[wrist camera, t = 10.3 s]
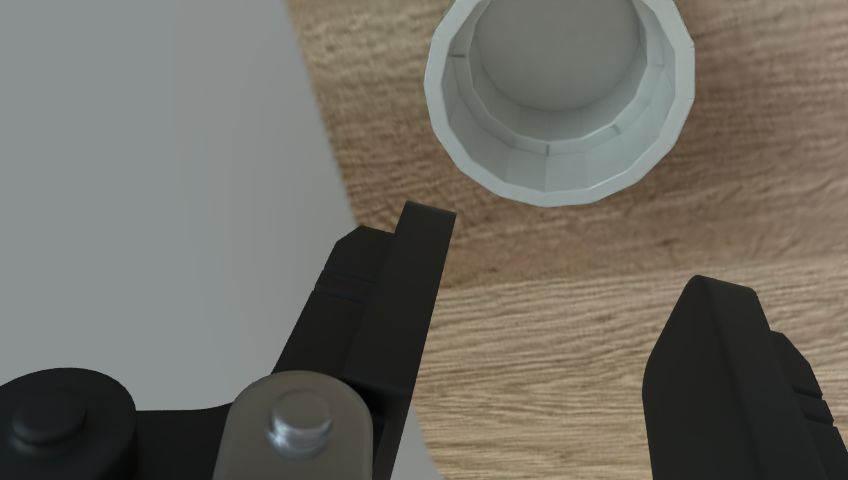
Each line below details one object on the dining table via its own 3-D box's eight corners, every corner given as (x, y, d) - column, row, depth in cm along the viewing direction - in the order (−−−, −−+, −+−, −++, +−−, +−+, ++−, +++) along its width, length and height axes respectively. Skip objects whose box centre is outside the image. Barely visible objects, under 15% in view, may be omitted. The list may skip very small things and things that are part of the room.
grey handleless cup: (432, 102, 23) (404, 172, 19) (478, -109, 19) (455, -80, 15) (623, 150, 23) (637, 232, 18) (704, -55, 19) (743, -11, 15)
